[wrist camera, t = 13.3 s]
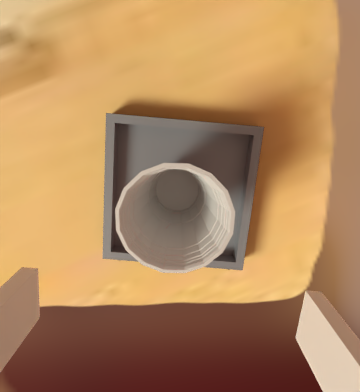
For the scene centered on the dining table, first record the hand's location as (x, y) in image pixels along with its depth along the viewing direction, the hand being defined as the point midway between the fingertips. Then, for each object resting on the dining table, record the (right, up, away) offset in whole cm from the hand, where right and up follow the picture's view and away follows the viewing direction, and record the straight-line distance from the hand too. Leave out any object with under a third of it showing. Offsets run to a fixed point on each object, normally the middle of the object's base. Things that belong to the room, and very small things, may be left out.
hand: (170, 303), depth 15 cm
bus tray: (0, +6, +24) cm, 25 cm away
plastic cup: (0, +6, +24) cm, 24 cm away
